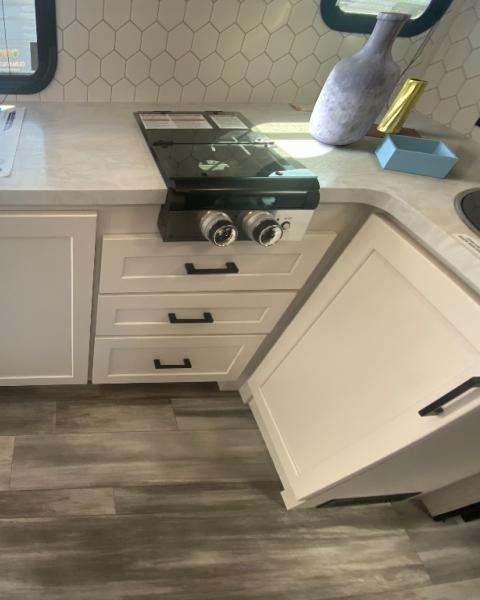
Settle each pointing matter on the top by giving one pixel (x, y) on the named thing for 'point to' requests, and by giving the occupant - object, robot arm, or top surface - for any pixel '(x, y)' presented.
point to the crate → (415, 155)
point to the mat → (403, 132)
